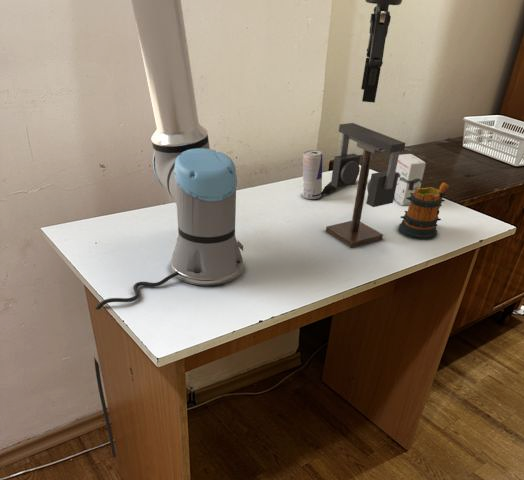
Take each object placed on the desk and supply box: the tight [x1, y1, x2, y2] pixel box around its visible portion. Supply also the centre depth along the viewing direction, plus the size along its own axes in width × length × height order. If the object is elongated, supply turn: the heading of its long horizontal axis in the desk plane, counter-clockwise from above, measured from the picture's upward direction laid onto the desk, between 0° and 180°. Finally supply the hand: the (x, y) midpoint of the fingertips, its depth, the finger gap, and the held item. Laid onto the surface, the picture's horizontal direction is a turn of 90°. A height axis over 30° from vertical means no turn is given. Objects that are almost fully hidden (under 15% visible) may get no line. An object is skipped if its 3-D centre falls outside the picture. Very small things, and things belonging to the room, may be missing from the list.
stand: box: [325, 142, 384, 248], centre depth 120 cm, size 10×10×22 cm
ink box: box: [393, 153, 427, 206], centre depth 144 cm, size 8×5×12 cm, turn 17°
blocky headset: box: [330, 122, 406, 208], centre depth 116 cm, size 6×17×14 cm, turn 32°
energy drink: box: [302, 149, 323, 200], centre depth 142 cm, size 5×5×12 cm
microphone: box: [319, 181, 338, 198], centre depth 151 cm, size 6×6×20 cm
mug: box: [397, 182, 450, 241], centre depth 128 cm, size 13×10×12 cm
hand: (367, 95), depth 116 cm, fingers open, 13 cm apart
